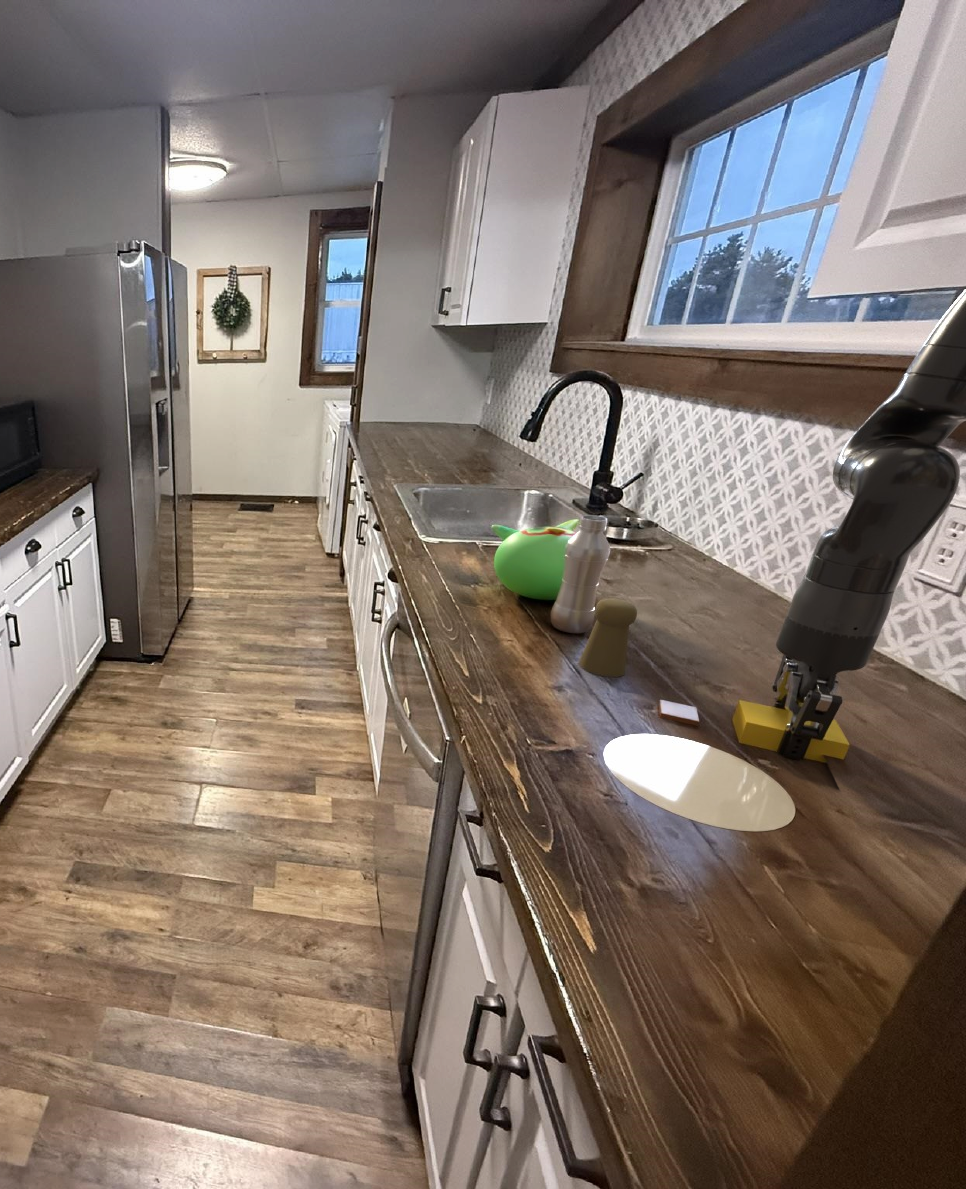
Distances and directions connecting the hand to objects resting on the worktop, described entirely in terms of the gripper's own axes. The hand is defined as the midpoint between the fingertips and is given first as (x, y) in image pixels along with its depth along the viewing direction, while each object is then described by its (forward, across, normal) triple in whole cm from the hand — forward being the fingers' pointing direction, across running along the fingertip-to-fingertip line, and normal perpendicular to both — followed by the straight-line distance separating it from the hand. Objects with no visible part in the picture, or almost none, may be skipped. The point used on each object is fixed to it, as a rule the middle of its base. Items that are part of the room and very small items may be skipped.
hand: (782, 744), depth 77 cm
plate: (+1, -14, +10) cm, 17 cm away
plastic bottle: (+1, +26, +24) cm, 35 cm away
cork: (+1, +13, +19) cm, 23 cm away
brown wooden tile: (+1, +1, +10) cm, 10 cm away
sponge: (+1, 0, 0) cm, 1 cm away
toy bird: (+1, +41, +30) cm, 51 cm away
